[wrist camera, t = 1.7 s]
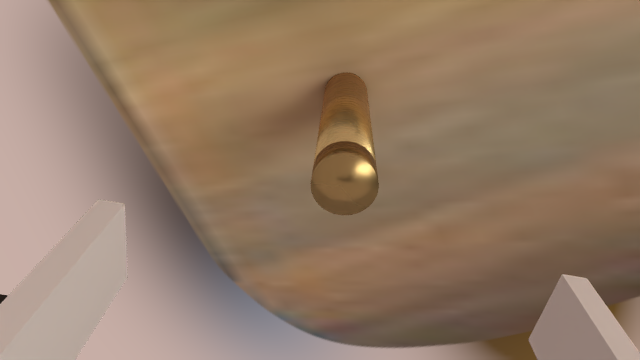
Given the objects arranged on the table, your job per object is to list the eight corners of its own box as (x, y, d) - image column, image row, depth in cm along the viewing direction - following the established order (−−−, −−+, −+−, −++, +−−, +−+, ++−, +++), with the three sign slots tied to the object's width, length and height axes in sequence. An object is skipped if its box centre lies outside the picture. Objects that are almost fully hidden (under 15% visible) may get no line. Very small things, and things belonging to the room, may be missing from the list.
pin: (371, 76, 30) (385, 161, 19) (362, 116, 31) (370, 220, 20) (328, 69, 30) (316, 150, 19) (321, 109, 31) (306, 209, 20)
